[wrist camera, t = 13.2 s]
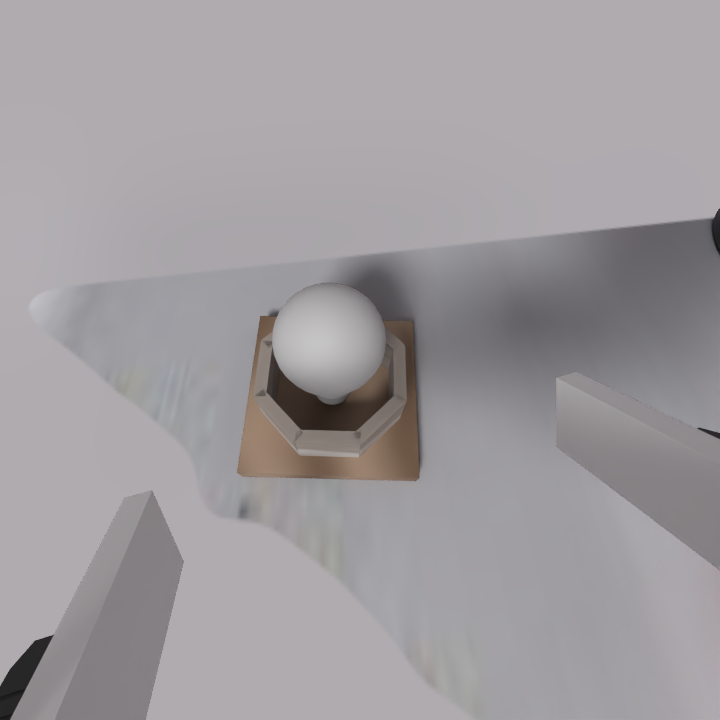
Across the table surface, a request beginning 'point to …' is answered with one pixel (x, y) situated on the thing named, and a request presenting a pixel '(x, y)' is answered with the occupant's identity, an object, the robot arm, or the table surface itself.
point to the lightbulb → (329, 340)
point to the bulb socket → (333, 419)
